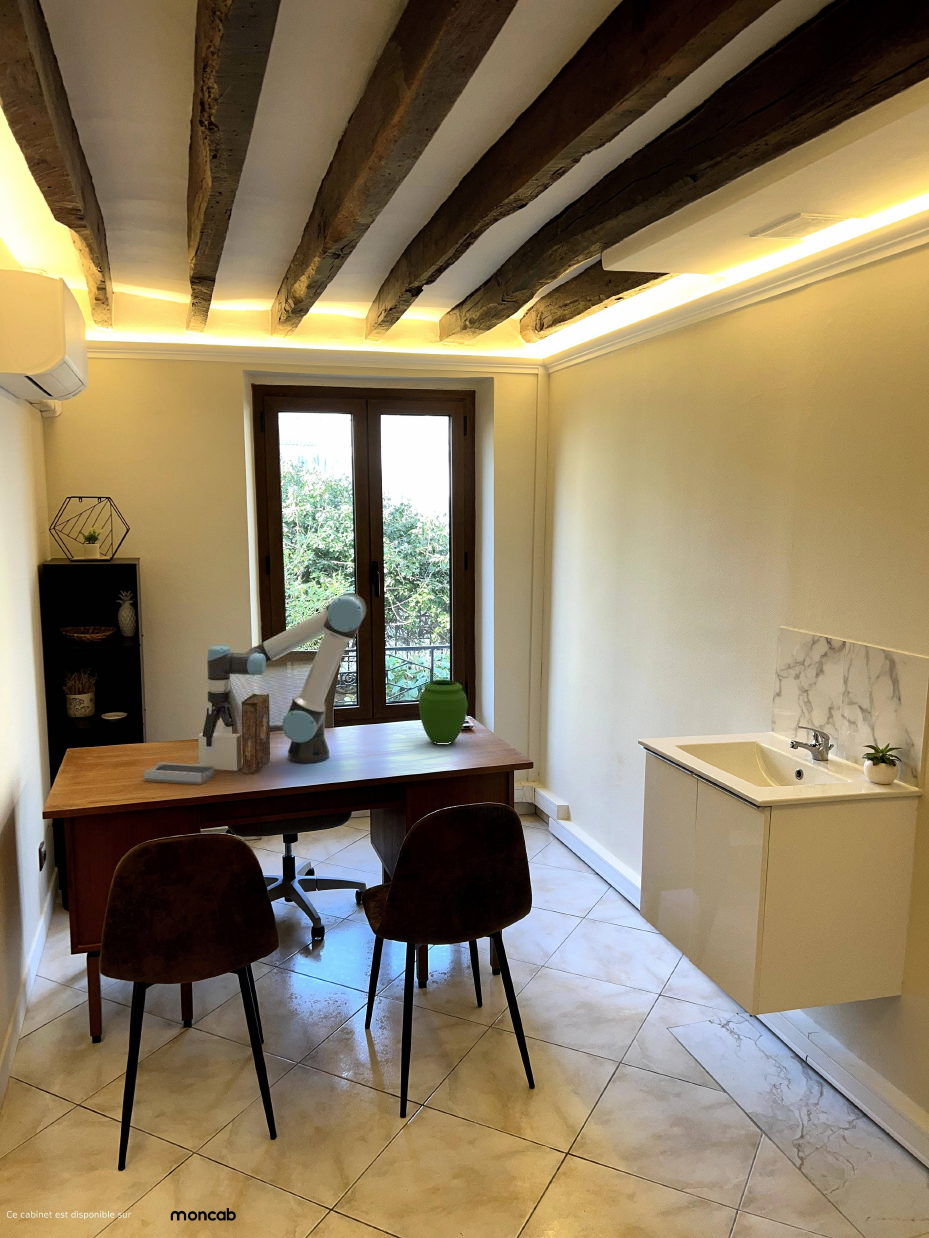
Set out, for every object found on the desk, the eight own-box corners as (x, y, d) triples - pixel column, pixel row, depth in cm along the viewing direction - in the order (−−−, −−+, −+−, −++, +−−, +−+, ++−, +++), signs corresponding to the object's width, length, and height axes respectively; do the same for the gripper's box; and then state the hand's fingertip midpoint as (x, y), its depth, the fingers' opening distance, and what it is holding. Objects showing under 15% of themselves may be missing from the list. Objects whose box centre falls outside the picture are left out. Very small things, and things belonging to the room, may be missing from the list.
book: (257, 774, 281) (256, 703, 278) (241, 774, 281) (240, 702, 278) (270, 760, 297) (269, 693, 294) (255, 760, 297) (254, 692, 294)
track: (214, 775, 278) (213, 765, 278) (201, 784, 269) (200, 774, 269) (159, 772, 281) (159, 762, 281) (144, 780, 272) (144, 770, 271)
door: (242, 766, 289) (241, 733, 288) (236, 770, 285) (236, 737, 283) (205, 764, 291) (204, 731, 290) (199, 768, 287) (198, 734, 285)
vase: (416, 736, 333) (417, 677, 330) (464, 735, 335) (465, 677, 332) (419, 749, 314) (420, 687, 311) (469, 749, 316) (470, 687, 313)
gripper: (224, 683, 297) (224, 739, 300) (191, 697, 273) (192, 758, 275) (243, 684, 296) (243, 741, 299) (212, 698, 272) (213, 760, 274)
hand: (219, 749), depth 287 cm, fingers open, 13 cm apart
